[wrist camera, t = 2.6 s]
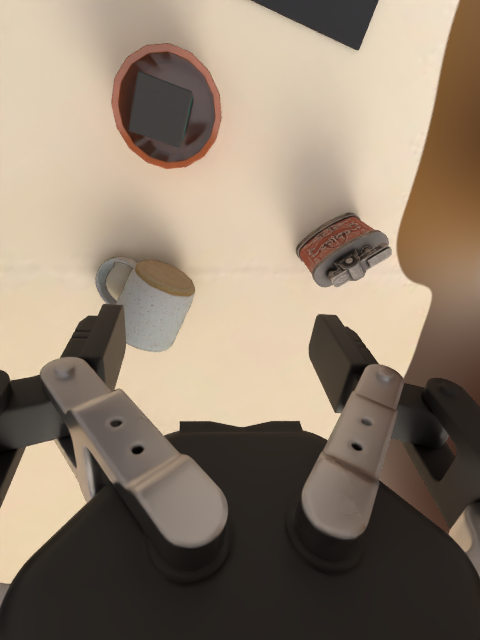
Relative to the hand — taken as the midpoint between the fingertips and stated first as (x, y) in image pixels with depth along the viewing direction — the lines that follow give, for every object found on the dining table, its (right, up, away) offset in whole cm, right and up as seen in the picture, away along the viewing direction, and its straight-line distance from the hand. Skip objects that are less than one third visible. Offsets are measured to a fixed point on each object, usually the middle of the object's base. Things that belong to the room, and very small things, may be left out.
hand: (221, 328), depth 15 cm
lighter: (+11, +10, +27) cm, 31 cm away
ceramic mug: (-11, +4, +28) cm, 30 cm away
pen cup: (-6, +20, +19) cm, 28 cm away
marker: (-6, +20, +18) cm, 28 cm away
